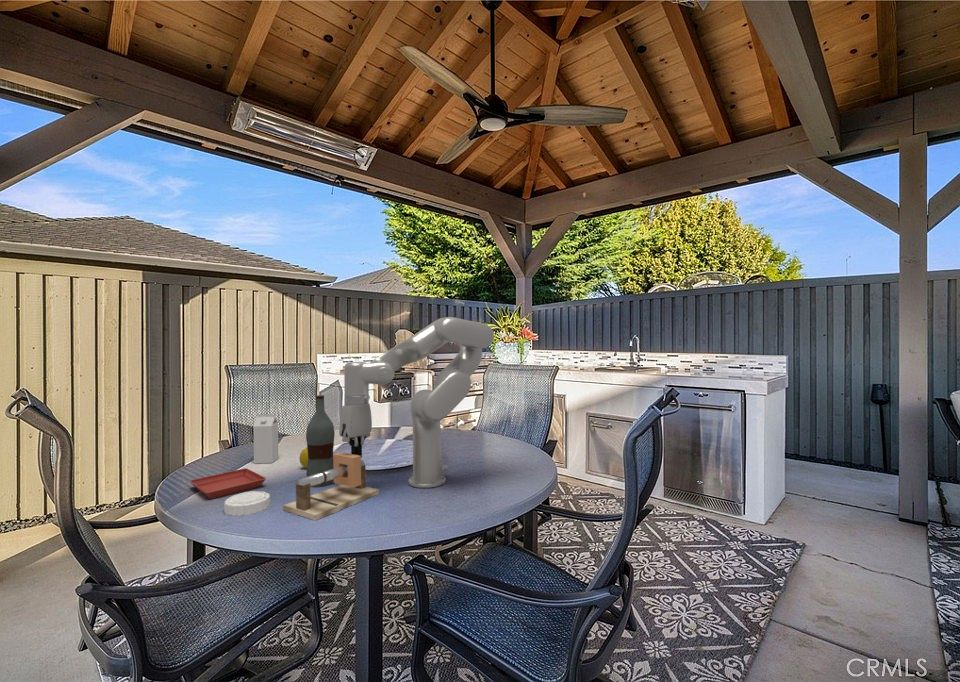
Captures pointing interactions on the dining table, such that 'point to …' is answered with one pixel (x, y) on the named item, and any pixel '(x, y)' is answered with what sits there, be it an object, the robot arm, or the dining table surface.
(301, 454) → the lemon
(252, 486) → the plant saucer
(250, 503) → the mooncake
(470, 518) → the dining table surface
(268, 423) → the milk carton
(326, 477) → the pipe
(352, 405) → the robot arm
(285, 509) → the pipe stand
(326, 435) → the bottle
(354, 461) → the collar
